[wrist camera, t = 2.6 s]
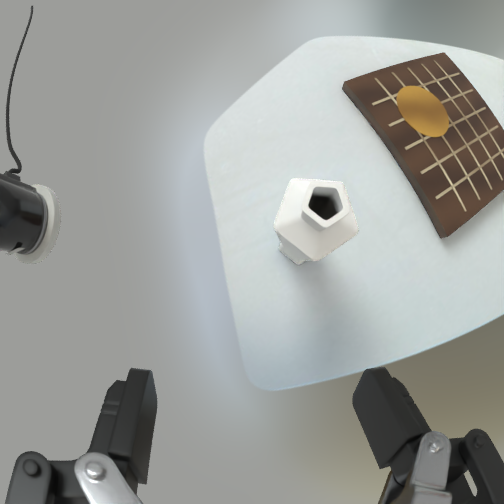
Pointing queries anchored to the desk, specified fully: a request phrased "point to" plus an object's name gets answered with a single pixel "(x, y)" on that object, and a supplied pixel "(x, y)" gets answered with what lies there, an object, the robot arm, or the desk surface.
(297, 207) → the perfume bottle
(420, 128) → the grid board
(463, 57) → the desk surface
